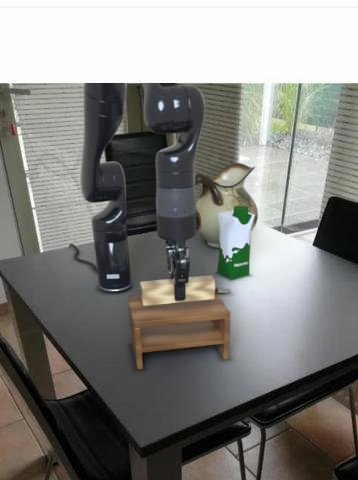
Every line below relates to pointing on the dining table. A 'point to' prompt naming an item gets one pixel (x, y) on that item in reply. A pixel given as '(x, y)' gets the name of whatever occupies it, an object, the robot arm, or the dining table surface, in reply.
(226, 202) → the pitcher
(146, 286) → the beech stick
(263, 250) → the dining table surface
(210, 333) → the shelf
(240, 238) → the milk carton
